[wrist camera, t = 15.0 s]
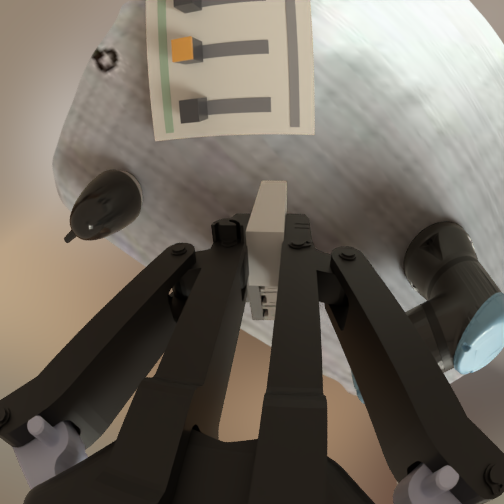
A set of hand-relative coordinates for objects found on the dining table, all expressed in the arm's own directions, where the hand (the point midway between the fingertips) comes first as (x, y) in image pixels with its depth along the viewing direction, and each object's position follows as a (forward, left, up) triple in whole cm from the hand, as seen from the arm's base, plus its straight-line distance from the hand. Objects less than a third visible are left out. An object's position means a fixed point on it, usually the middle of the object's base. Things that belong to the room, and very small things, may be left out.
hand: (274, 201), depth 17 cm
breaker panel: (+7, -13, -26) cm, 30 cm away
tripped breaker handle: (+11, -13, -21) cm, 27 cm away
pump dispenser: (+28, +8, -27) cm, 39 cm away
